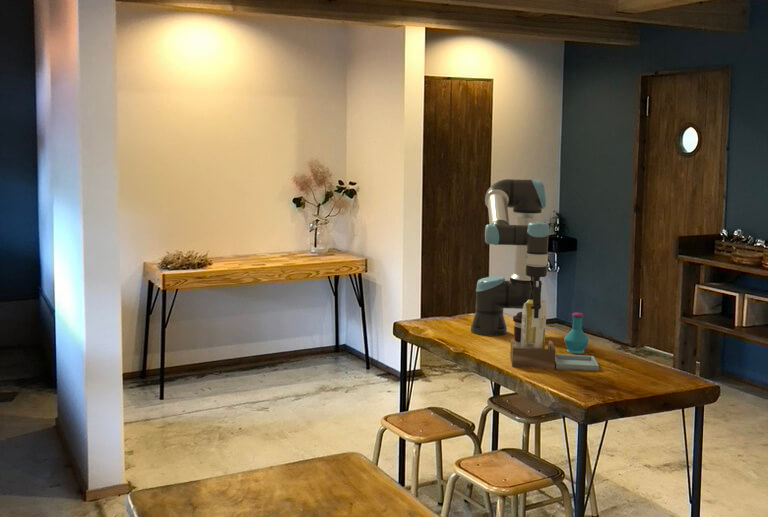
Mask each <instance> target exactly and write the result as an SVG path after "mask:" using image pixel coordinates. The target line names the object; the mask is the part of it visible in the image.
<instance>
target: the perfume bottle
mask: <svg viewBox="0 0 768 517" xmlns="http://www.w3.org/2000/svg"><path fill="white" fill-rule="evenodd" d="M571 316H572V325H571V326H572V329H570V331H569V332H568V333H567V334H566V336H564V338H563V340H564V341H563V342H564V344H565V347H566V348H567V349H566V351H567V352H568V353H572V354H584V353H585V349H587V346H588V345H589V338H588V337H587V335H586V334H585V332H584V331H583V318H584V316H585V315H584V314H583V313H582V312H577V311H576V312H573V313H571Z"/></svg>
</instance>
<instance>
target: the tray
mask: <svg viewBox="0 0 768 517" xmlns="http://www.w3.org/2000/svg"><path fill="white" fill-rule="evenodd" d="M555 370H563V371H564V370H565V371H583V372H585V371H586V372H600V365H599V363H598V361H597V360H596V357H595V356H594V355H580V354H578V355H577V354H557V353H555Z"/></svg>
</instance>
